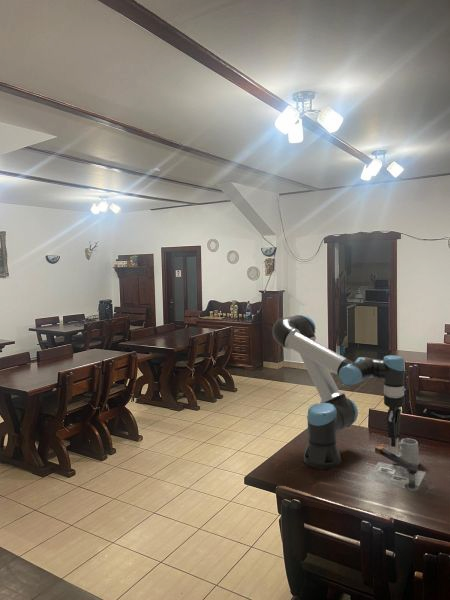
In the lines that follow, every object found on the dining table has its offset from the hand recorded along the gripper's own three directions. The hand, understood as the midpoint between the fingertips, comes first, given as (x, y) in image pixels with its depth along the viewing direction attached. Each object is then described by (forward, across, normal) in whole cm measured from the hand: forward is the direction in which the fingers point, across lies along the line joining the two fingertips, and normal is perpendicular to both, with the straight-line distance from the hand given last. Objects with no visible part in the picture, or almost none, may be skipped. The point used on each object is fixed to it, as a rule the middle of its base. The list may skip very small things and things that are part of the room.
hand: (394, 453), depth 180 cm
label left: (+6, -5, +2) cm, 8 cm away
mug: (+7, +6, -3) cm, 9 cm away
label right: (+6, -10, -4) cm, 12 cm away
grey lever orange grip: (0, -9, -3) cm, 9 cm away
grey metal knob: (+6, -13, -10) cm, 18 cm away
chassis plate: (+6, -7, -2) cm, 10 cm away
